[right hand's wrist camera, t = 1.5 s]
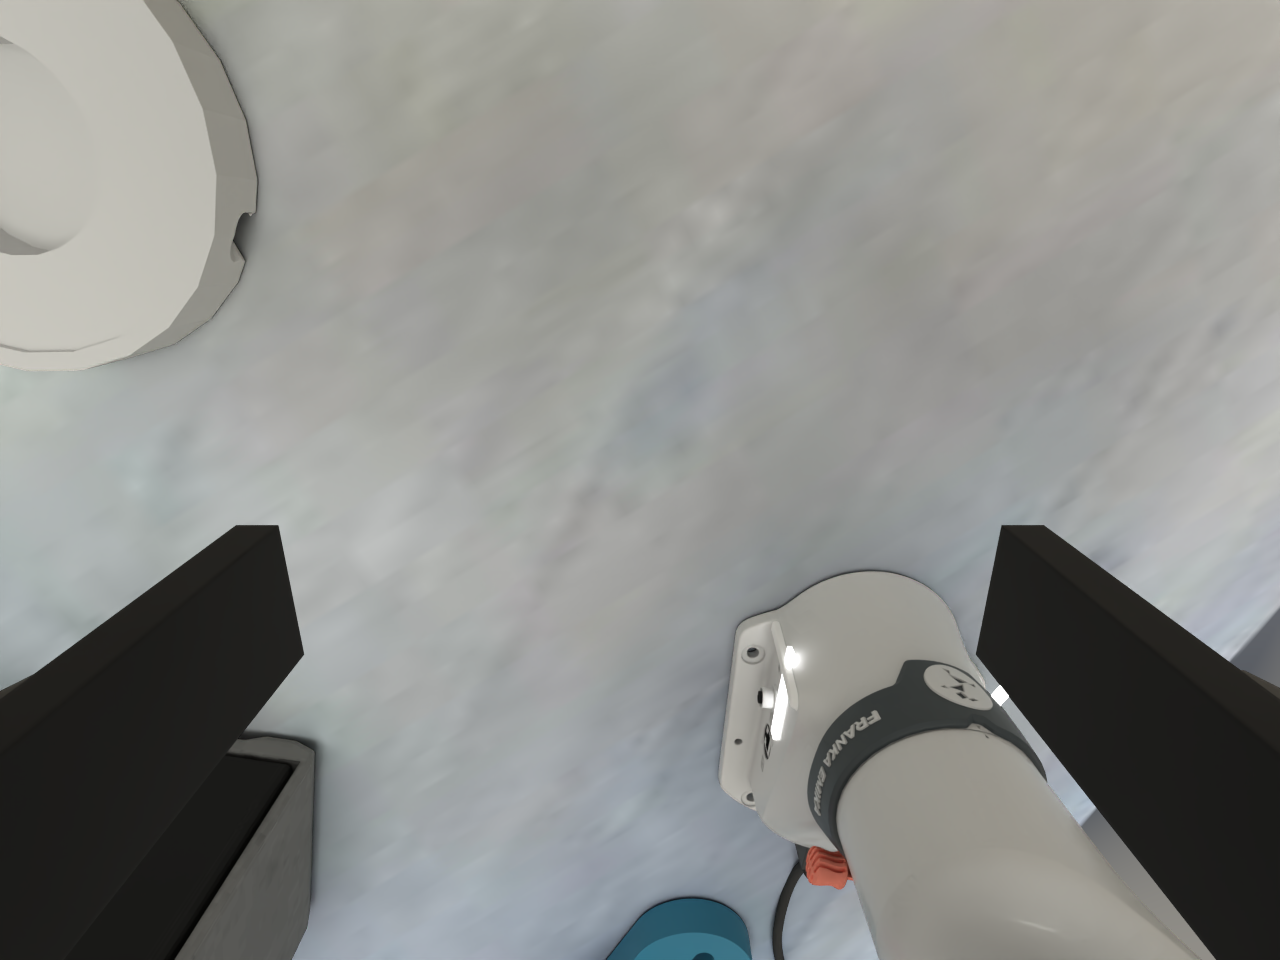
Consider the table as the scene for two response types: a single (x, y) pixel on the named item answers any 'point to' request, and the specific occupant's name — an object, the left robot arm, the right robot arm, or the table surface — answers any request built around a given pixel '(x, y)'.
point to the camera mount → (686, 933)
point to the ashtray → (114, 181)
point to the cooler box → (222, 868)
